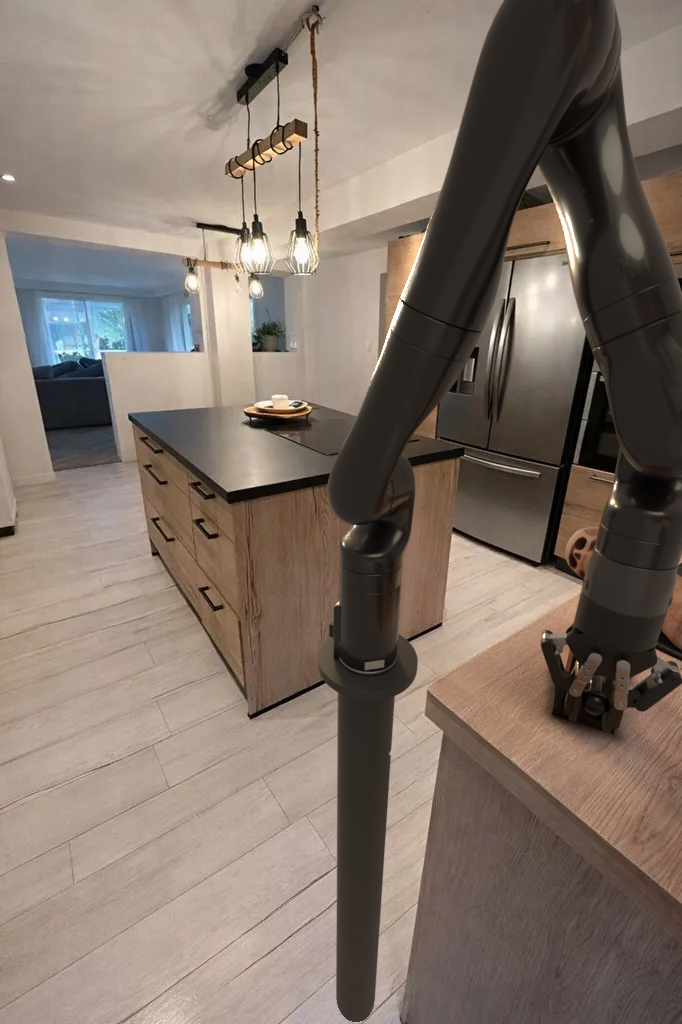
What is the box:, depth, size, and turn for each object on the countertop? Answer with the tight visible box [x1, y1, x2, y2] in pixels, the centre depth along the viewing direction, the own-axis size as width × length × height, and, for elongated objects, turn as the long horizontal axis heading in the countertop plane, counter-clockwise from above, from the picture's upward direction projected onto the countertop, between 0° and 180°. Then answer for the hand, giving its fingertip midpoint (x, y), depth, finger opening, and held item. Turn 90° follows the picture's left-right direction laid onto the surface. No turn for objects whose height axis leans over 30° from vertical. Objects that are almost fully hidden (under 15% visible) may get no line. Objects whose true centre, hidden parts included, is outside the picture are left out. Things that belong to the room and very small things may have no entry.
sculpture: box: [564, 525, 682, 651], centre depth 80 cm, size 10×14×30 cm
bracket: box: [551, 649, 616, 736], centre depth 56 cm, size 8×7×12 cm
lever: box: [581, 675, 609, 715], centre depth 52 cm, size 11×3×3 cm, turn 154°
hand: (588, 720), depth 51 cm, fingers closed on lever, 3 cm apart
